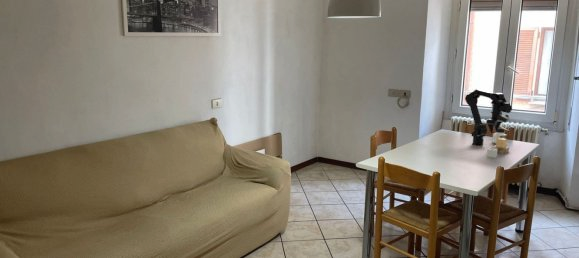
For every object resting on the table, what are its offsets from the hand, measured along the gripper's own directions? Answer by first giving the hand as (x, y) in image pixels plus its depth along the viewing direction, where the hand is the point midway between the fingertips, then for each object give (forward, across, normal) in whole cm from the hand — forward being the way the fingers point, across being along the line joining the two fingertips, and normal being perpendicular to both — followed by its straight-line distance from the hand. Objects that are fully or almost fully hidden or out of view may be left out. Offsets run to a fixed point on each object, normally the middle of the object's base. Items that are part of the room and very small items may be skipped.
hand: (494, 131), depth 332 cm
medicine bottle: (+13, +21, +3) cm, 25 cm away
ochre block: (+9, -6, -8) cm, 13 cm away
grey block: (+12, -22, -8) cm, 26 cm away
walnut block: (+13, -6, -8) cm, 16 cm away
